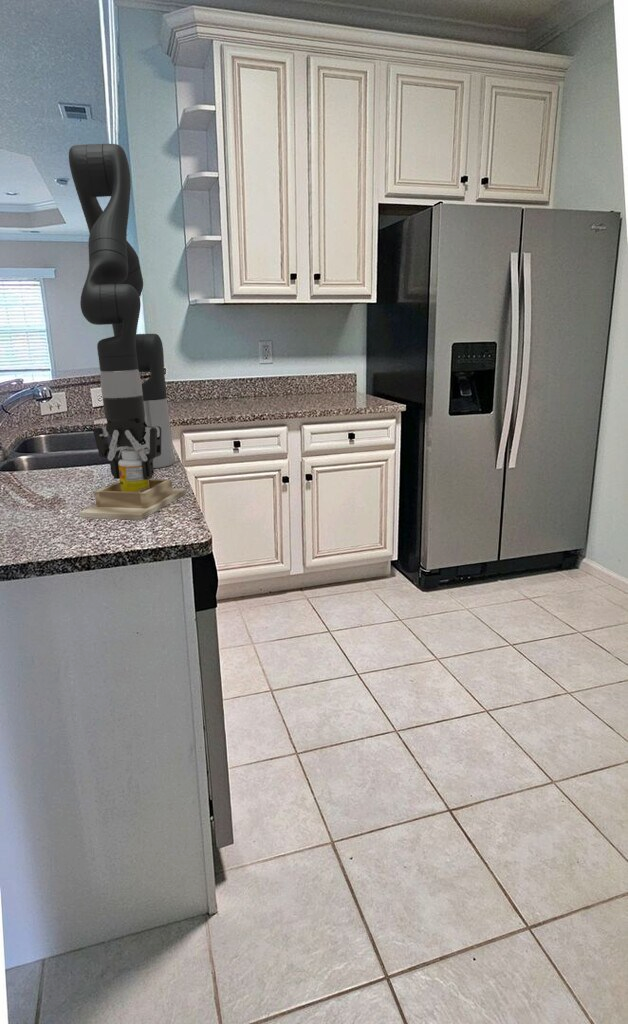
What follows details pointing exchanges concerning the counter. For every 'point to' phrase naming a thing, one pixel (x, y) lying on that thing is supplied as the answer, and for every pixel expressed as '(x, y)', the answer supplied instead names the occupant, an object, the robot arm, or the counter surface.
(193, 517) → the counter surface
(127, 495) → the cup caddy
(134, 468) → the supplement bottle
